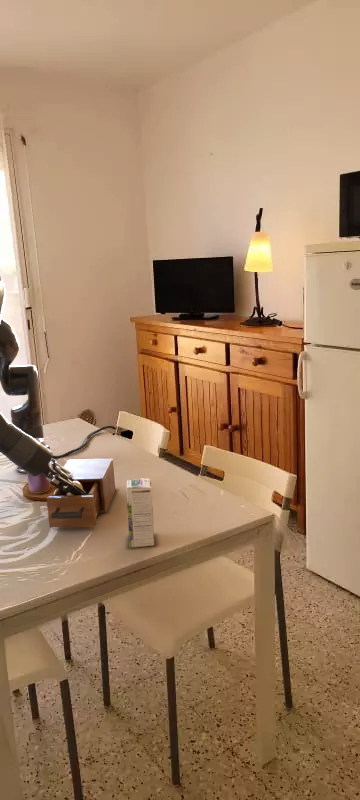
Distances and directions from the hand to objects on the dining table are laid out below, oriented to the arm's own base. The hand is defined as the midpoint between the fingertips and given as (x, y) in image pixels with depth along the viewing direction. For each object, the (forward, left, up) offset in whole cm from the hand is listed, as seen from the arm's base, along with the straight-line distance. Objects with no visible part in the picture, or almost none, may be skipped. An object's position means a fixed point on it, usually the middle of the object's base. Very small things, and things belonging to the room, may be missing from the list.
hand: (82, 492), depth 154 cm
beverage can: (-20, -18, -7) cm, 28 cm away
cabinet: (-11, -2, -7) cm, 14 cm away
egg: (+1, -2, -4) cm, 5 cm away
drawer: (+1, -2, -6) cm, 7 cm away
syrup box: (+13, +16, -7) cm, 22 cm away
